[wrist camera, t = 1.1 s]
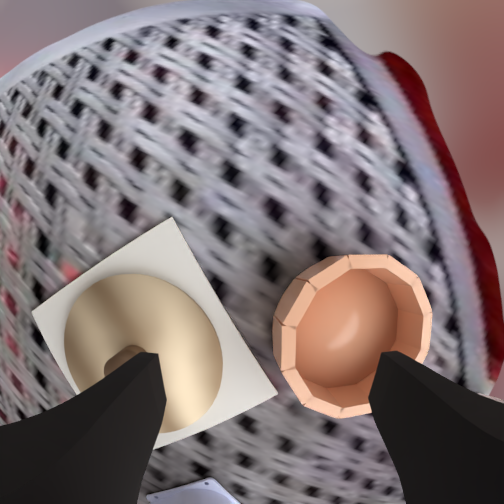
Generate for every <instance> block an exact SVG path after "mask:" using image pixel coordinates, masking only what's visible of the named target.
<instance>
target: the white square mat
mask: <svg viewBox="0 0 504 504" xmlns="http://www.w3.org/2000/svg"><path fill="white" fill-rule="evenodd" d="M121 274H143V275H149V276H153V277H157V278H159V279H162V280H165V281H167V282H169V283H171V284H173V285H175V286H177V287H178V288H180V289H181V290H182V291H184V292H185V293H187V294H188V295H189V296H190V297H191V298H192V299H193V300H195V301H196V303H197V304H198V305H199V306H200V307H201V308H202V309H203V311H204V312H205V313H206V315H207V316H208V318H209V319H210V321H211V323H212V325H213V327H214V328H215V330H216V333H217V336H218V338H219V341H220V346H221V350H222V358H223V372H222V380H221V385H220V389H219V391H218V394H217V397H216V399H215V400H214V402H213V404H212V406H211V407H210V408H209V410H208V411H207V412H206V413H205V414H204V415H203V416H202V417H201V418H200V419H199V420H197V421H196V422H194V423H193V424H191V425H189V426H187V427H185V428H183V429H180V430H177V431H174V432H168V433H159V434H158V437H157V440H156V442H155V445H154V448H153V449H156V448H159V447H162V446H165V445H167V444H170V443H173V442H176V441H178V440H181V439H183V438H186V437H188V436H191V435H193V434H196V433H198V432H201V431H203V430H205V429H208V428H210V427H212V426H214V425H217V424H219V423H221V422H223V421H225V420H228V419H230V418H232V417H234V416H236V415H238V414H240V413H242V412H244V411H246V410H248V409H250V408H252V407H254V406H256V405H258V404H260V403H262V402H264V401H266V400H268V399H270V398H271V397H273V396H275V395H277V394H278V392H277V390H276V389H275V387H274V386H273V384H272V383H271V381H270V380H269V378H268V377H267V375H266V374H265V372H264V371H263V369H262V368H261V366H260V364H259V363H258V361H257V360H256V358H255V357H254V355H253V354H252V352H251V350H250V349H249V347H248V346H247V344H246V342H245V341H244V339H243V338H242V336H241V334H240V333H239V331H238V330H237V328H236V326H235V325H234V323H233V321H232V320H231V318H230V317H229V315H228V313H227V312H226V310H225V308H224V307H223V305H222V303H221V302H220V300H219V298H218V297H217V295H216V293H215V291H214V290H213V288H212V286H211V285H210V283H209V281H208V279H207V278H206V276H205V274H204V273H203V271H202V269H201V267H200V266H199V264H198V262H197V260H196V258H195V257H194V255H193V253H192V251H191V250H190V248H189V246H188V244H187V242H186V241H185V239H184V237H183V235H182V233H181V231H180V230H179V228H178V226H177V224H176V222H175V220H174V219H173V217H171V218H169V219H167V220H166V221H164V222H162V223H161V224H159V225H157V226H156V227H154V228H152V229H151V230H149V231H148V232H146V233H144V234H143V235H141V236H140V237H138V238H136V239H135V240H133V241H132V242H130V243H129V244H127V245H125V246H124V247H122V248H121V249H119V250H118V251H116V252H115V253H113V254H112V255H110V256H109V257H107V258H106V259H104V260H103V261H101V262H100V263H98V264H97V265H95V266H94V267H92V268H91V269H90V270H88V271H87V272H85V273H84V274H82V275H81V276H79V277H78V278H77V279H75V280H74V281H72V282H71V283H70V284H68V285H67V286H65V287H64V288H63V289H61V290H60V291H59V292H57V293H56V294H54V295H53V296H52V297H50V298H49V299H48V300H46V301H45V302H44V303H42V304H41V305H40V306H39V307H37V308H36V309H35V310H33V311H32V314H33V317H34V319H35V321H36V323H37V325H38V327H39V329H40V331H41V333H42V336H43V337H44V339H45V341H46V343H47V345H48V347H49V349H50V351H51V353H52V355H53V356H54V358H55V360H56V362H57V363H58V365H59V367H60V369H61V370H62V372H63V374H64V375H65V377H66V379H67V380H68V382H69V383H70V385H71V387H72V388H73V390H74V391H75V393H76V394H77V395H78V394H80V393H81V392H80V391H79V389H78V387H77V386H76V384H75V382H74V380H73V378H72V376H71V373H70V371H69V368H68V365H67V361H66V356H65V350H64V331H65V326H66V321H67V318H68V315H69V313H70V310H71V308H72V306H73V305H74V303H75V302H76V300H77V299H78V297H79V296H80V295H81V294H82V293H83V292H84V291H85V290H86V289H87V288H89V287H90V286H91V285H93V284H94V283H96V282H98V281H100V280H102V279H105V278H107V277H110V276H115V275H121Z"/></svg>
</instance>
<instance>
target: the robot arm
mask: <svg viewBox="0 0 504 504" xmlns="http://www.w3.org/2000/svg"><path fill="white" fill-rule="evenodd" d="M368 400H369V404H370V407H371V411H372V414H373V417H374V421H375V423H376V425H377V428H378V430H379V432H380V434H381V436H382V439H383V441H384V443H385V445H386V447H387V450H388V452H389V454H390V456H391V458H392V461H393V463H394V465H395V467H396V470H397V473H398V475H399V478H400V481H401V485H402V489H403V493H404V496H405V501H406V504H504V403H501V402H498V401H495V400H493V399H490V398H487V397H485V396H482V395H479V394H477V393H475V392H472V391H470V390H468V389H466V388H464V387H462V386H460V385H458V384H456V383H454V382H452V381H451V380H449V379H447V378H445V377H443V376H441V375H440V374H438V373H436V372H434V371H433V370H431V369H429V368H428V367H426V366H424V365H423V364H421V363H419V362H417V361H416V360H414V359H412V358H410V357H409V356H407V355H405V354H403V353H401V352H399V351H389V352H381V355H380V359H379V363H378V366H377V370H376V373H375V376H374V380H373V383H372V386H371V389H370V393H369V396H368ZM166 402H167V398H166V393H165V388H164V383H163V377H162V372H161V366H160V361H159V355H158V353H148V352H140V353H138V354H136V355H135V356H133V357H132V358H131V359H129V360H128V361H127V362H125V363H124V364H122V365H121V366H120V367H118V368H117V369H116V370H114V371H113V372H111V373H110V374H108V375H107V376H106V377H104V378H103V379H101V380H100V381H99V382H97V383H96V384H94V385H92V386H91V387H89V388H88V389H86V390H84V391H83V392H81V393H80V394H78V395H76V396H75V397H73V398H71V399H69V400H68V401H66V402H64V403H62V404H60V405H58V406H56V407H54V408H52V409H49V410H47V411H45V412H43V413H40V414H38V415H35V416H32V417H29V418H26V419H23V420H21V421H18V422H14V423H11V424H7V425H3V426H0V504H137V500H138V495H139V490H140V486H141V482H142V479H143V475H144V473H145V470H146V467H147V464H148V462H149V459H150V456H151V453H152V451H153V448H154V445H155V442H156V440H157V437H158V434H159V431H160V428H161V425H162V421H163V417H164V412H165V407H166ZM205 482H208V483H205ZM146 498H147V500H149V501H150V504H241V503H240V502H239V501H237V500H236V499H235V498H234V497H233V496H232V495H231V494H230V493H229V492H228V491H226V490H225V489H224V488H223V487H222V486H221V485H220V484H219V483H218V482H217V481H216V480H215V479H214V478H206V479H203V480H200V481H197V482H193V483H190V484H187V485H184V486H180V487H176V488H173V489H169V490H165V491H161V492H157V493H153V494H148V495H147V496H146Z"/></svg>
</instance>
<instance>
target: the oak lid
mask: <svg viewBox="0 0 504 504" xmlns="http://www.w3.org/2000/svg"><path fill="white" fill-rule="evenodd" d="M64 350H65V356H66V361H67V365H68V368H69V371H70V373H71V376H72V378H73V380H74V382H75V384H76V386H77V387H78V389H79V391H80V392H83V391H84V390H86V389H88V388H89V387H91V386H92V385H94V384H96V383H97V382H99V381H100V380H101V379H103V378H104V377H106V376H107V375H108V374H110V373H111V372H113V371H114V370H116V369H117V368H118V367H120V366H121V365H122V364H124V363H125V362H127V361H128V360H129V359H131V358H132V357H133V356H135V355H136V354H138V353H140V352H148V353H158V355H159V361H160V366H161V372H162V377H163V383H164V388H165V393H166V398H167V402H166V407H165V412H164V417H163V421H162V425H161V428H160V431H159V433H168V432H174V431H177V430H180V429H183V428H185V427H187V426H189V425H191V424H193V423H194V422H196V421H197V420H199V419H200V418H201V417H202V416H203V415H204V414H205V413H206V412H207V411H208V410H209V408H210V407H211V406H212V404H213V402H214V400H215V399H216V397H217V394H218V391H219V389H220V385H221V380H222V372H223V358H222V350H221V346H220V341H219V338H218V336H217V333H216V330H215V328H214V327H213V325H212V323H211V321H210V319H209V318H208V316H207V315H206V313H205V312H204V311H203V309H202V308H201V307H200V306H199V305H198V304H197V303H196V301H195V300H193V299H192V298H191V297H190V296H189V295H188V294H187V293H185V292H184V291H182V290H181V289H180V288H178V287H177V286H175V285H173V284H171V283H169V282H167V281H165V280H162V279H159V278H157V277H153V276H149V275H143V274H121V275H115V276H110V277H107V278H105V279H102V280H100V281H98V282H96V283H94V284H93V285H91V286H90V287H89V288H87V289H86V290H85V291H84V292H83V293H82V294H81V295H80V296H79V297H78V299H77V300H76V302H75V303H74V305H73V306H72V308H71V310H70V313H69V315H68V318H67V321H66V326H65V331H64Z"/></svg>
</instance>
